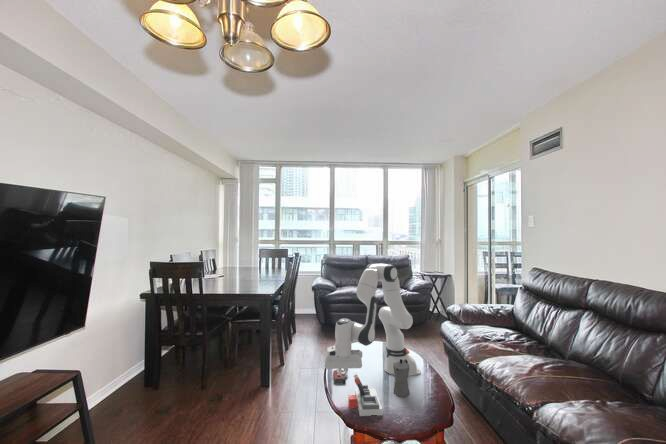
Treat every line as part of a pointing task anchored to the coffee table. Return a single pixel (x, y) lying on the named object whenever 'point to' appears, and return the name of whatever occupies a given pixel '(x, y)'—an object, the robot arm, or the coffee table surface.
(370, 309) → the robot arm
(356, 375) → the lever plain
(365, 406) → the white compartment tray
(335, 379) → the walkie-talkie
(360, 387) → the lever tagged
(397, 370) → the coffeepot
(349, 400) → the lockout cap
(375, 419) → the coffee table surface
